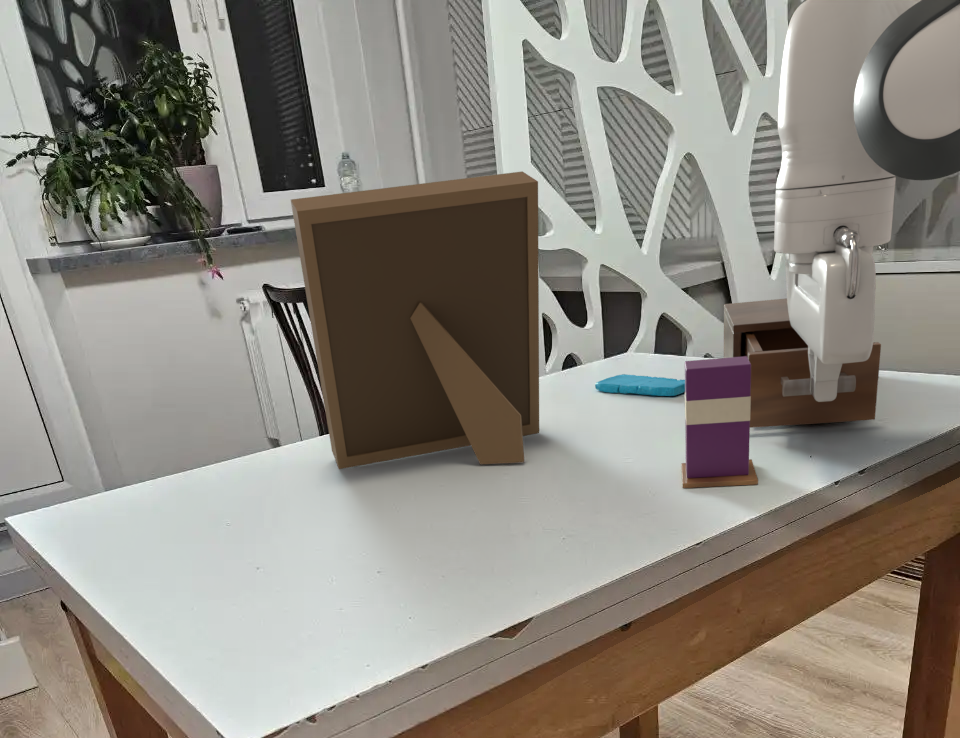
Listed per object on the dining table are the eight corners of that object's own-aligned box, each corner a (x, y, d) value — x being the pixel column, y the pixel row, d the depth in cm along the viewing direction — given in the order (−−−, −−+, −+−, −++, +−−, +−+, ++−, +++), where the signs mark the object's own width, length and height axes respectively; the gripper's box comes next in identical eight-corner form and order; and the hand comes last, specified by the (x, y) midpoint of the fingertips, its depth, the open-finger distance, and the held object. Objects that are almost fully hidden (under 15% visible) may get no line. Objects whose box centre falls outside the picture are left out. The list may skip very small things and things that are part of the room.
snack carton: (745, 463, 78) (747, 355, 74) (749, 475, 75) (751, 364, 71) (685, 466, 79) (684, 360, 75) (686, 478, 76) (685, 369, 72)
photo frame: (333, 459, 97) (285, 200, 86) (526, 425, 101) (504, 174, 90) (353, 496, 84) (300, 196, 73) (574, 455, 88) (556, 166, 77)
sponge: (660, 392, 104) (696, 376, 106) (590, 383, 113) (624, 368, 115) (662, 405, 104) (697, 389, 107) (592, 395, 114) (626, 380, 116)
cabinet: (857, 400, 95) (863, 313, 91) (732, 408, 97) (733, 325, 94) (831, 369, 109) (835, 293, 105) (723, 377, 112) (723, 304, 108)
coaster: (751, 463, 79) (751, 459, 79) (757, 484, 74) (758, 479, 74) (681, 467, 81) (681, 463, 80) (682, 488, 75) (682, 483, 75)
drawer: (884, 431, 80) (891, 352, 77) (751, 439, 83) (752, 363, 80) (845, 384, 98) (850, 318, 95) (735, 392, 100) (736, 328, 97)
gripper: (905, 226, 63) (888, 425, 69) (850, 213, 81) (840, 372, 87) (809, 236, 64) (801, 430, 70) (776, 221, 82) (771, 377, 88)
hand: (822, 398), depth 79 cm, fingers closed
